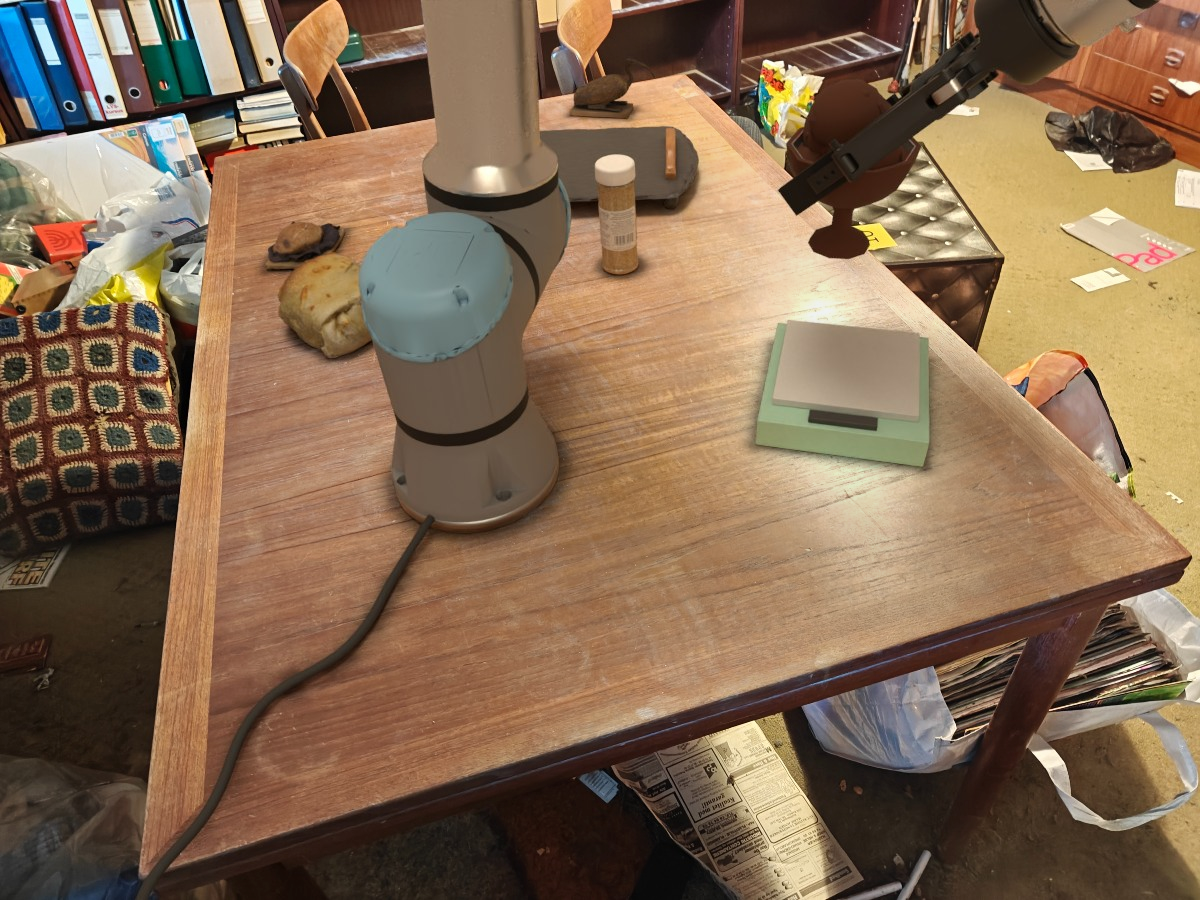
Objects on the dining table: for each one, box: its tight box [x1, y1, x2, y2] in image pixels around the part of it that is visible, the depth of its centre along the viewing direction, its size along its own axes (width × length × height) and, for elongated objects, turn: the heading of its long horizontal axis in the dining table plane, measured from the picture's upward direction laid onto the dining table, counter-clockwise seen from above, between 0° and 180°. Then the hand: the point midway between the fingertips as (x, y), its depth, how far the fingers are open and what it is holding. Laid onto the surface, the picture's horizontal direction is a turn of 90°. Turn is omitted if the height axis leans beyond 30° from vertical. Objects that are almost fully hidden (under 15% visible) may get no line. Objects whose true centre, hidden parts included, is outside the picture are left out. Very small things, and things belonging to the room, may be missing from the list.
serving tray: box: [540, 125, 700, 210], centre depth 121 cm, size 39×23×6 cm, turn 87°
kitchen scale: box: [754, 319, 931, 468], centre depth 83 cm, size 16×15×4 cm
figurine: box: [569, 57, 656, 119], centre depth 138 cm, size 14×4×9 cm, turn 74°
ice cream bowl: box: [785, 78, 922, 260], centre depth 74 cm, size 11×11×15 cm
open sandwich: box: [265, 221, 346, 270], centre depth 112 cm, size 11×8×4 cm
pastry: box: [277, 251, 372, 359], centre depth 97 cm, size 14×12×8 cm
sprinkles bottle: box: [595, 155, 639, 275], centre depth 101 cm, size 5×5×13 cm
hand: (817, 174), depth 76 cm, fingers closed on ice cream bowl, 11 cm apart
